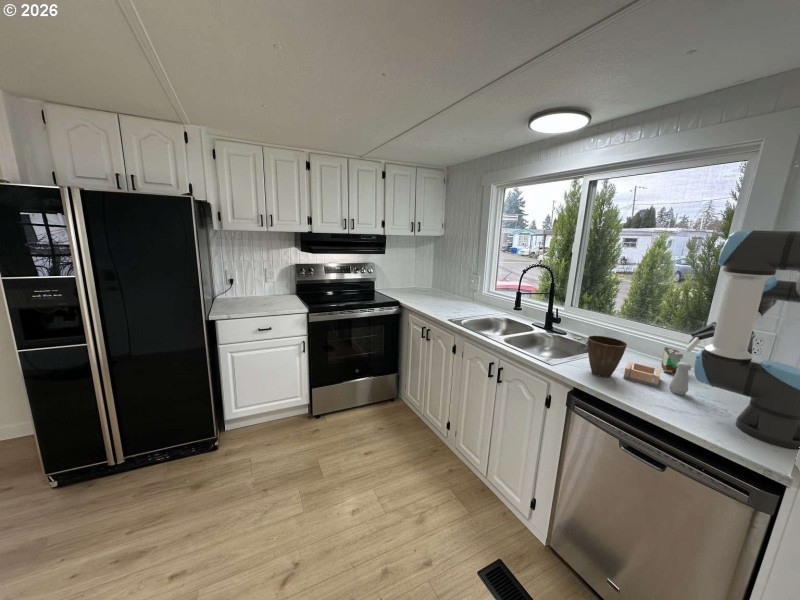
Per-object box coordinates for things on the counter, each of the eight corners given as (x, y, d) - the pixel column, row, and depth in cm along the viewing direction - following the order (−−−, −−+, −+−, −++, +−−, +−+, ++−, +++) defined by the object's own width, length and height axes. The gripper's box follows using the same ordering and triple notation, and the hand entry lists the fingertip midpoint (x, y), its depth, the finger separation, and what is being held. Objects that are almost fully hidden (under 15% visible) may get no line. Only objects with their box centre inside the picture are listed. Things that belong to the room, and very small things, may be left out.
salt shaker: (665, 390, 132) (672, 361, 129) (672, 388, 134) (679, 359, 132) (682, 397, 127) (690, 366, 124) (689, 394, 129) (697, 364, 127)
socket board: (657, 387, 135) (659, 376, 134) (623, 378, 142) (625, 368, 142) (659, 378, 144) (661, 368, 143) (627, 370, 151) (629, 361, 150)
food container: (681, 377, 146) (686, 356, 144) (664, 373, 150) (669, 353, 148) (676, 368, 157) (680, 349, 155) (660, 365, 160) (664, 346, 158)
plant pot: (575, 366, 153) (580, 334, 150) (605, 367, 154) (611, 335, 150) (595, 380, 138) (601, 345, 135) (628, 381, 139) (635, 346, 136)
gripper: (786, 335, 120) (747, 374, 119) (710, 318, 143) (677, 350, 143) (780, 321, 117) (740, 362, 117) (704, 306, 141) (670, 340, 141)
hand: (705, 356), depth 130 cm, fingers open, 13 cm apart
